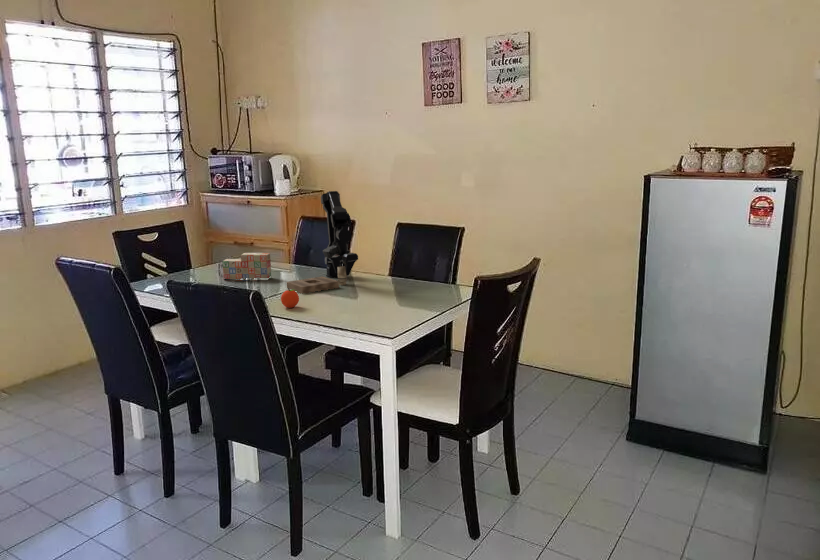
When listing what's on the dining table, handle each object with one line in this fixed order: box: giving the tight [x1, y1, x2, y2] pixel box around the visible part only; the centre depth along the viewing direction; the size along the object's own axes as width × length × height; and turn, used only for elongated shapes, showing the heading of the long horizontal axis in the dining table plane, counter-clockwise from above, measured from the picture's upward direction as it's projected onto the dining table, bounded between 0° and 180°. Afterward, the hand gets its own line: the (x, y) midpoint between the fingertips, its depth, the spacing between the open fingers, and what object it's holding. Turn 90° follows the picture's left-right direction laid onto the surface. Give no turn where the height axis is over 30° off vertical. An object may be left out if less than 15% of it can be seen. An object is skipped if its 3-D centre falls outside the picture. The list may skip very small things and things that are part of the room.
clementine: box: [280, 289, 300, 309], centre depth 252 cm, size 8×7×7 cm
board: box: [286, 276, 340, 295], centre depth 285 cm, size 18×14×3 cm
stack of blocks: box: [221, 252, 272, 279], centre depth 306 cm, size 21×6×12 cm, turn 85°
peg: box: [337, 265, 348, 286], centre depth 291 cm, size 4×4×8 cm
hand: (342, 273), depth 291 cm, fingers open, 9 cm apart
